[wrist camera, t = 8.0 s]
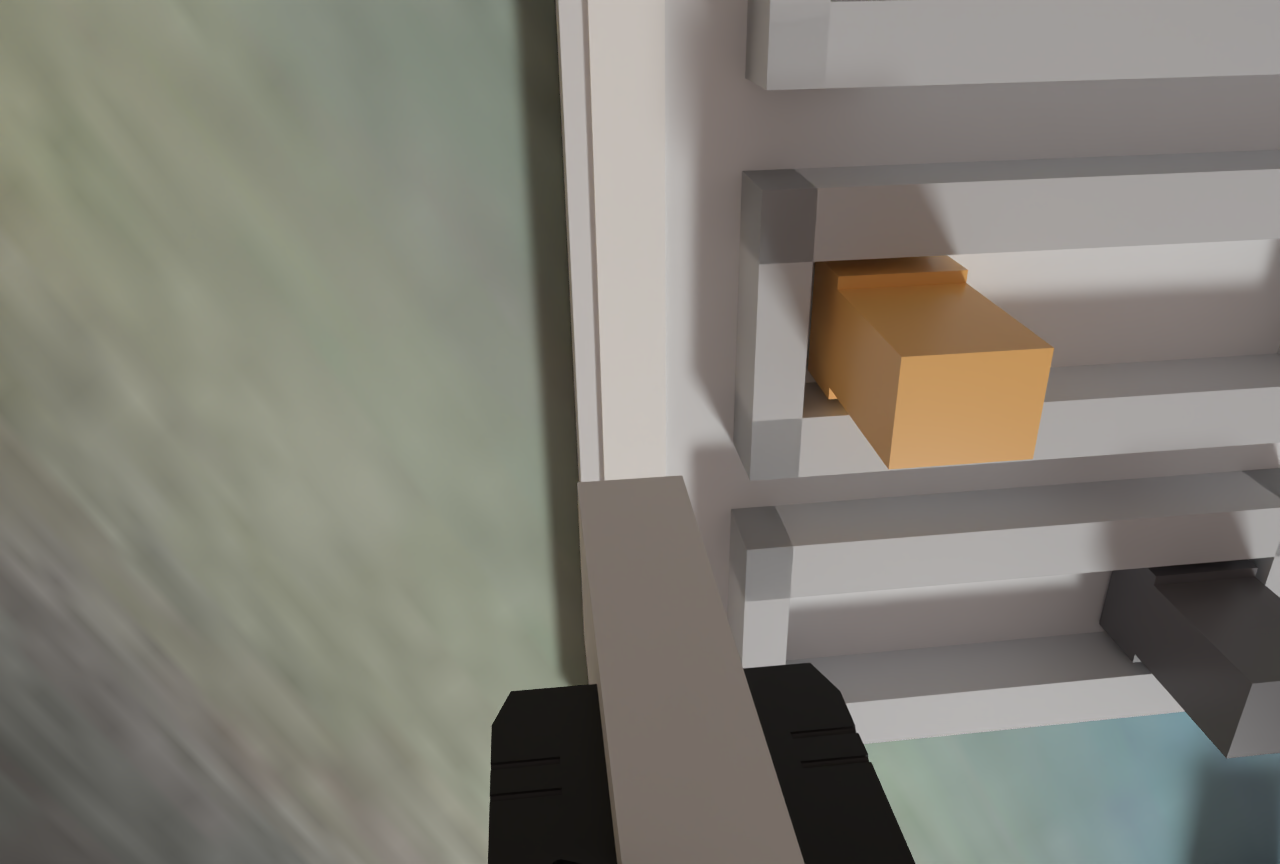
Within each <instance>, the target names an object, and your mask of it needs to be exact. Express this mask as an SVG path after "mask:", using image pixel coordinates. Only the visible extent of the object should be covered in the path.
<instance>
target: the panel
mask: <svg viewBox="0 0 1280 864" xmlns="http://www.w3.org/2000/svg"><path fill="white" fill-rule="evenodd" d="M556 21H557V42H558V62H559V83H560V104H561V124H562V145H563V165H564V186H565V207H566V227H567V248H568V269H569V289H570V310H571V330H572V351H573V372H574V392H575V413H576V434H577V454H578V475H579V482H590V481H605V480H620V479H635V478H650V477H665V476H680V475H682V476H683V479H684V483H685V486H686V489H687V492H688V495H689V498H690V502H691V505H692V508H693V511H694V514H695V517H696V521H697V524H698V527H699V530H700V533H701V537H702V540H703V543H704V546H705V549H706V552H707V556H708V559H709V562H710V565H711V568H712V571H713V575H714V578H715V581H716V584H717V587H718V590H719V594H720V597H721V600H722V603H723V606H724V610H725V613H726V616H727V619H728V622H729V625H730V629H731V632H732V635H733V638H734V641H735V644H736V648H737V651H738V654H739V657H740V660H741V663H742V667H743V668H754V667H765V666H777V665H788V664H800V663H811V664H812V665H813V666H814V667H815V668H816V669H818V670H819V671H820V672H821V673H822V674H823V675H824V676H825V677H826V678H827V679H828V680H829V681H830V682H831V683H832V684H833V685H834V686H835V687H837V688H838V689H839V690H840V691H841V694H842V696H843V698H844V701H845V703H846V705H847V708H848V710H849V712H850V714H851V717H852V719H853V721H854V724H855V728H856V733H859V735H860V737H861V740H862V742H863V744H868V743H878V742H888V741H898V740H908V739H917V738H927V737H937V736H947V735H957V734H967V733H977V732H987V731H997V730H1007V729H1016V728H1026V727H1036V726H1046V725H1056V724H1066V723H1076V722H1086V721H1096V720H1105V719H1115V718H1125V717H1135V716H1145V715H1155V714H1165V713H1175V712H1185V711H1184V710H1183V708H1182V707H1181V706H1180V705H1179V704H1178V703H1177V702H1176V700H1175V699H1174V698H1173V697H1172V696H1171V695H1170V694H1169V693H1168V691H1167V690H1166V689H1165V688H1164V687H1163V686H1162V685H1161V683H1160V682H1159V681H1158V680H1157V679H1156V678H1155V677H1154V675H1153V674H1152V673H1151V672H1150V671H1149V670H1148V669H1147V668H1146V666H1145V665H1144V664H1143V663H1142V662H1134V663H1133V662H1132V661H1131V660H1130V659H1129V658H1128V657H1127V656H1126V654H1125V653H1124V652H1123V651H1122V650H1121V649H1120V647H1119V646H1118V645H1117V644H1116V643H1115V642H1114V641H1113V639H1112V638H1111V637H1110V636H1109V635H1108V634H1107V633H1106V631H1105V630H1104V629H1103V628H1102V627H1101V626H1100V624H1099V622H1100V618H1101V614H1102V609H1103V605H1104V601H1105V597H1106V593H1107V589H1108V585H1109V581H1110V577H1111V573H1112V571H1113V570H1125V569H1137V568H1149V567H1161V566H1172V565H1184V564H1196V563H1208V562H1219V561H1231V560H1243V559H1248V560H1249V561H1251V562H1252V563H1253V564H1254V565H1255V566H1257V567H1258V569H1257V572H1256V575H1255V577H1256V578H1257V579H1258V580H1260V581H1261V582H1262V583H1263V584H1264V585H1266V586H1267V587H1268V588H1269V589H1270V590H1271V591H1273V592H1274V593H1275V594H1276V595H1277V596H1278V597H1280V0H556ZM941 255H948V256H949V257H950V258H952V259H953V260H955V261H956V262H957V263H959V264H960V265H962V266H963V267H965V268H966V269H967V270H968V274H967V281H966V283H967V284H969V285H970V286H971V287H973V288H974V289H975V290H977V291H978V292H979V293H981V294H982V295H983V296H985V297H986V298H987V299H989V300H990V301H992V302H993V303H994V304H996V305H997V306H998V307H1000V308H1001V309H1002V310H1004V311H1005V312H1006V313H1008V314H1009V315H1010V316H1012V317H1013V318H1014V319H1016V320H1017V321H1019V322H1020V323H1021V324H1023V325H1024V326H1025V327H1027V328H1028V329H1029V330H1031V331H1032V332H1033V333H1035V334H1036V335H1037V336H1039V337H1040V338H1042V339H1043V340H1044V341H1046V342H1047V343H1048V344H1050V345H1051V346H1052V347H1054V351H1053V357H1052V362H1051V367H1050V372H1049V378H1048V383H1047V388H1046V393H1045V399H1044V404H1043V409H1042V414H1041V420H1040V425H1039V430H1038V435H1037V440H1036V446H1035V451H1034V456H1033V459H1028V460H1014V461H1000V462H986V463H973V464H959V465H945V466H931V467H917V468H903V469H888V468H887V467H886V465H885V464H884V463H883V461H882V460H881V458H880V457H879V456H878V454H877V453H876V451H875V450H874V449H873V447H872V446H871V445H870V443H869V442H868V440H867V439H866V438H865V436H864V435H863V433H862V432H861V431H860V429H859V428H858V427H857V425H856V424H855V422H854V421H853V420H852V418H851V417H850V415H849V414H848V413H847V411H846V410H845V409H844V407H843V406H842V404H841V403H840V402H839V400H838V399H828V398H827V396H826V395H825V394H824V392H823V391H822V389H821V388H820V386H819V385H818V384H817V382H816V381H815V379H814V378H813V377H812V375H811V374H810V372H809V371H808V359H809V345H810V330H811V316H812V301H813V287H814V273H815V262H819V261H840V260H860V259H880V258H900V257H920V256H941ZM588 681H589V679H588Z"/></svg>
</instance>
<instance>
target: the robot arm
mask: <svg viewBox="0 0 1280 864" xmlns="http://www.w3.org/2000/svg"><path fill="white" fill-rule="evenodd" d="M577 491H578V513H579V535H580V557H581V579H582V601H583V623H584V640H585V650H586V660H587V670H588V679H589V685H578V686H567V687H556V688H544V689H533V690H521V691H511V692H510V694H509V696H508V697H507V699H506V701H505V703H504V705H503V706H502V708H501V710H500V712H499V714H498V715H497V717H496V719H495V721H494V722H493V724H492V738H491V775H490V812H489V848H488V864H915V862H914V859H913V857H912V855H911V852H910V850H909V848H908V846H907V843H906V841H905V839H904V836H903V834H902V832H901V829H900V827H899V825H898V823H897V820H896V818H895V816H894V813H893V811H892V809H891V806H890V804H889V802H888V800H887V797H886V795H885V793H884V790H883V788H882V786H881V783H880V781H879V779H878V777H877V774H876V772H875V770H874V767H873V765H872V763H871V762H869V760H868V754H867V751H866V749H865V747H864V744H863V742H862V740H861V737H860V735H859V733H856V728H855V724H854V721H853V719H852V717H851V714H850V712H849V710H848V708H847V705H846V703H845V701H844V698H843V696H842V694H841V691H840V690H839V689H838V688H837V687H835V686H834V685H833V684H832V683H831V682H830V681H829V680H828V679H827V678H826V677H825V676H824V675H823V674H822V673H821V672H820V671H819V670H818V669H816V668H815V667H814V666H813V665H812V664H811V663H800V664H788V665H777V666H765V667H754V668H743V667H742V663H741V660H740V657H739V654H738V651H737V648H736V644H735V641H734V638H733V635H732V632H731V629H730V625H729V622H728V619H727V616H726V613H725V610H724V606H723V603H722V600H721V597H720V594H719V590H718V587H717V584H716V581H715V578H714V575H713V571H712V568H711V565H710V562H709V559H708V556H707V552H706V549H705V546H704V543H703V540H702V537H701V533H700V530H699V527H698V524H697V521H696V517H695V514H694V511H693V508H692V505H691V502H690V498H689V495H688V492H687V489H686V486H685V483H684V479H683V476H682V475H680V476H665V477H650V478H635V479H620V480H605V481H590V482H577Z"/></svg>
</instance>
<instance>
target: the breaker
mask: <svg viewBox="0 0 1280 864" xmlns="http://www.w3.org/2000/svg"><path fill="white" fill-rule="evenodd" d="M1257 569H1258V567H1257V566H1255V565H1254V564H1253V563H1252V562H1251V561H1249V560H1248V559H1243V560H1231V561H1219V562H1208V563H1196V564H1184V565H1172V566H1161V567H1149V568H1137V569H1125V570H1113V571H1112V573H1111V577H1110V581H1109V585H1108V589H1107V593H1106V597H1105V601H1104V605H1103V609H1102V614H1101V618H1100V622H1099V624H1100V626H1101V627H1102V628H1103V629H1104V630H1105V631H1106V633H1107V634H1108V635H1109V636H1110V637H1111V638H1112V639H1113V641H1114V642H1115V643H1116V644H1117V645H1118V646H1119V647H1120V649H1121V650H1122V651H1123V652H1124V653H1125V654H1126V656H1127V657H1128V658H1129V659H1130V660H1131V661H1132V662H1133V663H1134V662H1142V663H1143V664H1144V665H1145V666H1146V668H1147V669H1148V670H1149V671H1150V672H1151V673H1152V674H1153V675H1154V677H1155V678H1156V679H1157V680H1158V681H1159V682H1160V683H1161V685H1162V686H1163V687H1164V688H1165V689H1166V690H1167V691H1168V693H1169V694H1170V695H1171V696H1172V697H1173V698H1174V699H1175V700H1176V702H1177V703H1178V704H1179V705H1180V706H1181V707H1182V708H1183V710H1184V711H1185V712H1186V713H1187V714H1188V715H1189V716H1190V717H1191V719H1192V720H1193V721H1194V722H1195V723H1196V724H1197V725H1198V727H1199V728H1200V729H1201V730H1202V731H1203V732H1204V733H1205V734H1206V736H1207V737H1208V738H1209V739H1210V740H1211V741H1212V742H1213V744H1214V745H1215V746H1216V747H1217V748H1218V749H1219V750H1220V751H1221V753H1222V754H1223V755H1224V756H1225V757H1226V758H1234V757H1244V756H1253V755H1263V754H1272V753H1280V597H1278V596H1277V595H1276V594H1275V593H1274V592H1273V591H1271V590H1270V589H1269V588H1268V587H1267V586H1266V585H1264V584H1263V583H1262V582H1261V581H1260V580H1258V579H1257V578H1256V577H1255V575H1256V572H1257Z"/></svg>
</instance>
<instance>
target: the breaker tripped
mask: <svg viewBox="0 0 1280 864" xmlns="http://www.w3.org/2000/svg"><path fill="white" fill-rule="evenodd" d="M967 274H968V270H967V269H966V268H965V267H963V266H962V265H960V264H959V263H957V262H956V261H955V260H953V259H952V258H950V257H949V256H948V255H941V256H920V257H900V258H880V259H860V260H840V261H819V262H815V273H814V287H813V301H812V316H811V330H810V345H809V359H808V371H809V372H810V374H811V375H812V377H813V378H814V379H815V381H816V382H817V384H818V385H819V386H820V388H821V389H822V391H823V392H824V394H825V395H826V396H827V398H828V399H838V400H839V402H840V403H841V404H842V406H843V407H844V409H845V410H846V411H847V413H848V414H849V415H850V417H851V418H852V420H853V421H854V422H855V424H856V425H857V427H858V428H859V429H860V431H861V432H862V433H863V435H864V436H865V438H866V439H867V440H868V442H869V443H870V445H871V446H872V447H873V449H874V450H875V451H876V453H877V454H878V456H879V457H880V458H881V460H882V461H883V463H884V464H885V465H886V467H887V468H888V469H903V468H917V467H931V466H945V465H959V464H973V463H986V462H1000V461H1014V460H1028V459H1033V456H1034V451H1035V446H1036V440H1037V435H1038V430H1039V425H1040V420H1041V414H1042V409H1043V404H1044V399H1045V393H1046V388H1047V383H1048V378H1049V372H1050V367H1051V362H1052V357H1053V351H1054V347H1052V346H1051V345H1050V344H1048V343H1047V342H1046V341H1044V340H1043V339H1042V338H1040V337H1039V336H1037V335H1036V334H1035V333H1033V332H1032V331H1031V330H1029V329H1028V328H1027V327H1025V326H1024V325H1023V324H1021V323H1020V322H1019V321H1017V320H1016V319H1014V318H1013V317H1012V316H1010V315H1009V314H1008V313H1006V312H1005V311H1004V310H1002V309H1001V308H1000V307H998V306H997V305H996V304H994V303H993V302H992V301H990V300H989V299H987V298H986V297H985V296H983V295H982V294H981V293H979V292H978V291H977V290H975V289H974V288H973V287H971V286H970V285H969V284H967V283H966V281H967Z"/></svg>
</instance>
